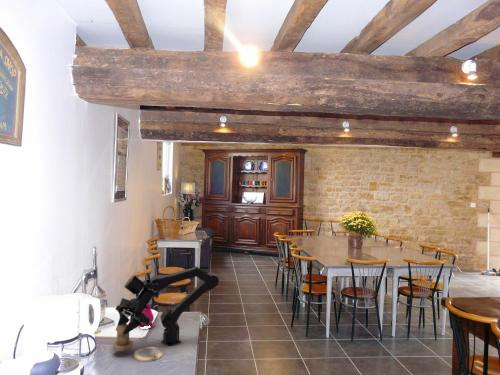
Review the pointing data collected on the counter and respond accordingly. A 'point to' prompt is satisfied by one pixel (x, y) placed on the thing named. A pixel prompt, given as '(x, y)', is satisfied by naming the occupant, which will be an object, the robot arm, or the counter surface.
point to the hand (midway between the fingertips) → (120, 332)
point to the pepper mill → (148, 315)
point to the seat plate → (148, 354)
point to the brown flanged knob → (122, 339)
